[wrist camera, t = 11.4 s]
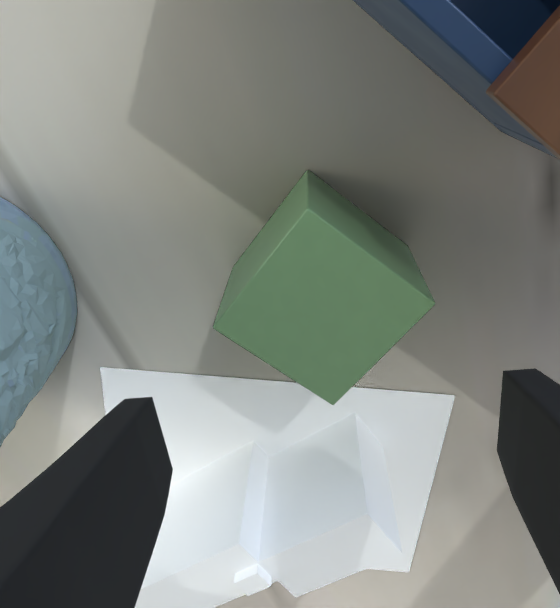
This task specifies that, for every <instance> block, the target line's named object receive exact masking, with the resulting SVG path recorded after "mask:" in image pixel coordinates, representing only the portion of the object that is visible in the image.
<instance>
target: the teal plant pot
mask: <svg viewBox="0 0 560 608" xmlns="http://www.w3.org/2000/svg"><path fill="white" fill-rule="evenodd" d="M76 317H77V298H76V291H75V286H74V281H73V278H72V276H71V273H70V271H69V268H68V266H67V264H66V262H65V260H64V258H63V256H62V254H61V252H60V251H59V249H58V248H57V247H56V245H55V244H54V242H53V241H52V239H51V238H50V237H49V236H48V235H47V233H46V232H45V231H44V230H43V229H42V228H41V227H40V226H39V225H38V224H37V223H36V222H35V221H34V220H32V219H31V218H30V217H29V216H28V215H26V214H25V213H24V212H23V211H22V210H20V209H19V208H18V207H16V206H15V205H13V204H11V203H10V202H8V201H7V200H5V199H3V198H1V197H0V447H1V445H2V443H3V440H4V439H5V438H6V436H7V435H8V434H9V433H10V432H11V431H12V430H13V428H14V427H15V424H16V421H17V420H18V419H19V418H20V417H21V416H22V414H23V412H24V410H25V408H26V407H27V405H28V403H29V402H30V401H31V400H32V399H33V398H34V397H35V396H36V395H37V393H38V392H39V391H40V390H41V389H42V387H43V385H44V384H45V382H46V381H47V379H48V378H49V376H50V374H51V373H52V371H53V370H54V368H55V366H56V365H57V363H58V362H59V360H60V359H61V357H62V355H63V354H64V352H65V351H66V349H67V347H68V345H69V343H70V341H71V339H72V336H73V333H74V329H75V324H76Z"/></svg>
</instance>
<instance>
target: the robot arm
mask: <svg viewBox="0 0 560 608" xmlns="http://www.w3.org/2000/svg"><path fill="white" fill-rule="evenodd" d="M497 452H498V455H499V458H500V461H501V464H502V467H503V470H504V473H505V476H506V479H507V482H508V485H509V488H510V491H511V494H512V496H513V499H514V501H515V503H516V505H517V507H518V509H519V511H520V513H521V516H522V518H523V520H524V522H525V524H526V526H527V528H528V530H529V532H530V534H531V536H532V538H533V540H534V542H535V545H536V547H537V549H538V551H539V553H540V555H541V557H542V559H543V561H544V563H545V565H546V567H547V569H548V571H549V573H550V575H551V577H552V579H553V581H554V583H555V585H556V587H557V590H558V592H559V594H560V385H559V384H558V383H556V382H555V381H553V380H552V379H550V378H549V377H547V376H546V375H544V374H543V373H541V372H540V371H538V370H537V369H524V370H510V371H503V380H502V393H501V406H500V418H499V431H498V444H497ZM172 472H173V468H172V464H171V461H170V457H169V454H168V450H167V447H166V443H165V440H164V436H163V433H162V429H161V426H160V422H159V419H158V415H157V412H156V408H155V405H154V401H153V398H152V397H143V398H129V399H124V400H123V401H121V402H120V403H119V404H118V405H117V406H115V407H114V408H113V409H112V410H111V411H110V412H109V413H108V414H107V415H105V416H104V417H103V418H102V419H101V420H100V421H99V422H98V423H97V424H96V425H95V426H94V427H92V428H91V429H90V430H89V431H88V432H87V433H86V434H85V435H84V436H83V437H82V438H81V439H79V440H78V441H77V442H76V443H75V444H74V445H73V446H72V447H71V448H70V449H68V450H67V451H66V452H65V453H64V454H63V455H62V456H61V457H60V458H59V459H57V460H56V461H55V462H54V463H53V464H52V465H51V466H50V467H48V468H47V469H46V470H45V471H44V472H42V473H41V474H40V475H39V476H38V477H36V478H35V479H34V480H33V481H32V482H31V483H29V484H28V485H27V486H26V487H25V488H23V489H22V490H21V491H20V492H19V493H17V494H16V495H15V496H14V497H13V498H12V499H10V500H9V501H8V502H7V503H5V504H4V505H3V506H2V507H0V608H135V605H136V602H137V599H138V596H139V593H140V590H141V587H142V584H143V580H144V577H145V574H146V571H147V568H148V565H149V562H150V559H151V556H152V553H153V550H154V547H155V544H156V540H157V537H158V534H159V531H160V528H161V525H162V521H163V518H164V515H165V510H166V505H167V500H168V495H169V490H170V484H171V478H172Z"/></svg>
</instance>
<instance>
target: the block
mask: <svg viewBox="0 0 560 608" xmlns="http://www.w3.org/2000/svg"><path fill="white" fill-rule="evenodd" d="M434 305H435V302H434V300H433V297H432V295H431V293H430V291H429V289H428V287H427V285H426V283H425V281H424V279H423V277H422V275H421V272H420V270H419V268H418V266H417V264H416V262H415V260H414V258H413V256H412V254H411V252H410V250H409V248H408V246H407V245H406V244H404V243H403V242H402V241H401V240H399V239H398V238H397V237H395V236H394V235H393V234H391V233H390V232H389V231H387V230H386V229H385V228H384V227H382V226H381V225H380V224H378V223H377V222H376V221H374V220H373V219H372V218H371V217H369V216H368V215H367V214H365V213H364V212H363V211H361V210H360V209H359V208H357V207H356V206H355V205H354V204H352V203H351V202H350V201H348V200H347V199H346V198H344V197H343V196H342V195H341V194H339V193H338V192H337V191H335V190H334V189H333V188H331V187H330V186H329V185H328V184H326V183H325V182H324V181H322V180H321V179H320V178H318V177H317V176H316V175H314V174H313V173H312V172H311V171H309V170H307V171H306V172H305V173H304V175H303V176H302V177H301V178H300V180H299V181H298V182H297V184H296V185H295V186H294V188H293V189H292V190H291V192H290V193H289V194H288V196H287V197H286V198H285V199H284V201H283V202H282V203H281V205H280V206H279V207H278V209H277V210H276V211H275V213H274V214H273V215H272V217H271V218H270V219H269V221H268V222H267V223H266V224H265V226H264V227H263V228H262V230H261V231H260V232H259V234H258V235H257V236H256V238H255V239H254V240H253V242H252V243H251V244H250V245H249V247H248V248H247V249H246V251H245V252H244V253H243V255H242V256H241V257H240V259H239V260H238V261H237V263H236V264H235V265H234V266H233V268H232V271H231V274H230V277H229V280H228V283H227V286H226V289H225V292H224V295H223V298H222V301H221V304H220V307H219V310H218V313H217V316H216V319H215V322H214V325H213V328H214V329H215V330H216V331H218V332H219V333H221V334H223V335H224V336H226V337H227V338H229V339H230V340H232V341H233V342H235V343H237V344H238V345H240V346H241V347H243V348H244V349H246V350H247V351H249V352H250V353H252V354H254V355H255V356H257V357H258V358H260V359H261V360H263V361H264V362H266V363H268V364H269V365H271V366H272V367H274V368H275V369H277V370H278V371H280V372H282V373H283V374H285V375H286V376H288V377H289V378H291V379H292V380H294V381H296V382H297V383H299V384H300V385H302V386H303V387H305V388H306V389H308V390H310V391H311V392H313V393H314V394H316V395H317V396H319V397H320V398H322V399H324V400H325V401H327V402H328V403H330V404H331V405H334V404H335V403H336V402H337V401H338V400H339V399H340V398H341V397H342V396H343V395H344V394H345V393H346V392H347V391H348V390H349V389H350V388H351V387H352V386H353V385H354V384H356V383H357V382H358V381H359V380H360V379H361V378H362V377H363V376H364V375H365V374H366V373H367V372H368V371H369V370H370V369H371V368H372V367H373V366H374V365H375V364H376V363H377V362H378V361H379V360H380V359H381V358H382V357H383V356H384V355H385V354H386V353H387V352H388V351H389V350H390V349H391V348H392V347H393V346H394V345H395V344H396V343H397V342H398V341H399V340H400V339H401V338H402V337H403V336H404V335H405V334H406V333H407V332H408V331H409V330H410V329H411V328H412V327H413V326H414V325H415V324H416V323H417V322H418V321H419V320H420V319H421V318H422V317H423V316H424V315H425V314H426V313H427V312H428V311H429V310H430V309H431V308H432V307H433V306H434Z"/></svg>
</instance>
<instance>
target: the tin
mask: <svg viewBox="0 0 560 608" xmlns="http://www.w3.org/2000/svg"><path fill="white" fill-rule="evenodd" d="M353 1H354V2H355V3H356V4H358V5H359V6H360V7H361V8H362V9H363V10H364V11H365V12H367V13H368V14H369V15H370V16H371V17H372V18H373V19H375V20H376V21H377V22H378V23H379V24H380V25H381V26H382V27H384V28H385V29H386V30H387V31H388V32H389V33H390V34H391V35H393V36H394V37H395V38H396V39H397V40H398V41H399V42H401V43H402V44H403V45H404V46H405V47H406V48H407V49H408V50H410V51H411V52H412V53H413V54H414V55H415V56H416V57H417V58H419V59H420V60H421V61H422V62H423V63H424V64H425V65H427V66H428V67H429V68H430V69H431V70H432V71H433V72H434V73H436V74H437V75H438V76H439V77H440V78H441V79H442V80H443V81H445V82H446V83H447V84H448V85H449V86H450V87H451V88H453V89H454V90H455V91H456V92H457V93H458V94H459V95H460V96H462V97H463V98H464V99H465V100H466V101H467V102H468V103H469V104H471V105H472V106H473V107H474V108H475V109H476V110H477V111H479V112H480V113H481V114H482V115H483V116H484V117H485V118H486V119H488V120H489V121H490V122H491V123H492V124H493V125H494V126H495V127H497V128H498V129H499V130H500V131H501V132H503V133H505V134H507V135H509V136H511V137H514V138H516V139H518V140H520V141H522V142H524V143H526V144H528V145H530V146H533V147H535V148H537V149H539V150H541V151H543V152H545V153H547V154H549V155H551V156H554V157H556V156H555V155H554V154H552V153H551V152H550V151H549V150H548V149H547V148H546V147H545V146H544V145H542V144H541V143H540V142H539V141H538V140H537V139H536V138H535V137H534V136H532V135H531V134H530V133H529V132H528V131H527V130H526V129H525V128H524V127H522V126H521V125H520V124H519V123H518V122H517V121H516V120H515V119H514V118H512V117H511V116H510V115H509V114H508V113H507V112H506V111H505V110H504V109H502V108H501V107H500V106H499V105H498V104H497V103H496V102H495V101H494V100H492V99H491V98H490V97H489V96H488V95H487V94H486V90H487V89H488V88H489V86H490V85H491V84H492V83H493V82H494V81H495V79H496V78H497V77H498V76H499V75H500V74H501V72H502V71H503V70H504V69H505V68H506V67H507V66H508V64H509V63H510V62H511V61H512V60H513V59H514V57H515V56H516V55H517V54H518V53H519V52H520V50H521V49H522V48H523V47H524V46H525V45H526V44H527V42H528V41H529V40H530V39H531V38H532V37H533V35H534V34H535V33H536V32H537V31H538V30H539V28H540V27H541V26H542V25H543V24H544V23H545V22H546V20H547V19H548V18H549V17H550V16H551V15H552V13H553V12H554V11H555V10H556V9H557V8H558V6H559V5H560V0H353ZM556 158H557V157H556Z"/></svg>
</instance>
